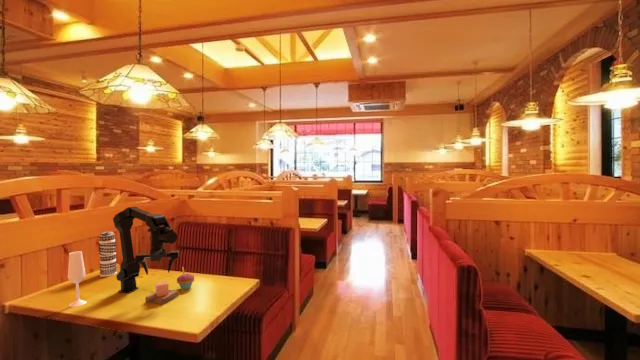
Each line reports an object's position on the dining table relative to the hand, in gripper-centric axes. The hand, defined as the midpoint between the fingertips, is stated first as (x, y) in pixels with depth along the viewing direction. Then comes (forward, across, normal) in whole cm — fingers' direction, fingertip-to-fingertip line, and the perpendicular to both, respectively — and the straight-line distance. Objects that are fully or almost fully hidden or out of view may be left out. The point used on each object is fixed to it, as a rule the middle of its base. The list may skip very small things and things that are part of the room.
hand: (158, 273), depth 161 cm
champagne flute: (+12, -34, +6) cm, 37 cm away
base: (+12, +2, -2) cm, 12 cm away
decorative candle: (+13, -31, +50) cm, 61 cm away
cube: (+9, +2, -2) cm, 10 cm away
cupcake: (+12, +12, +9) cm, 19 cm away
